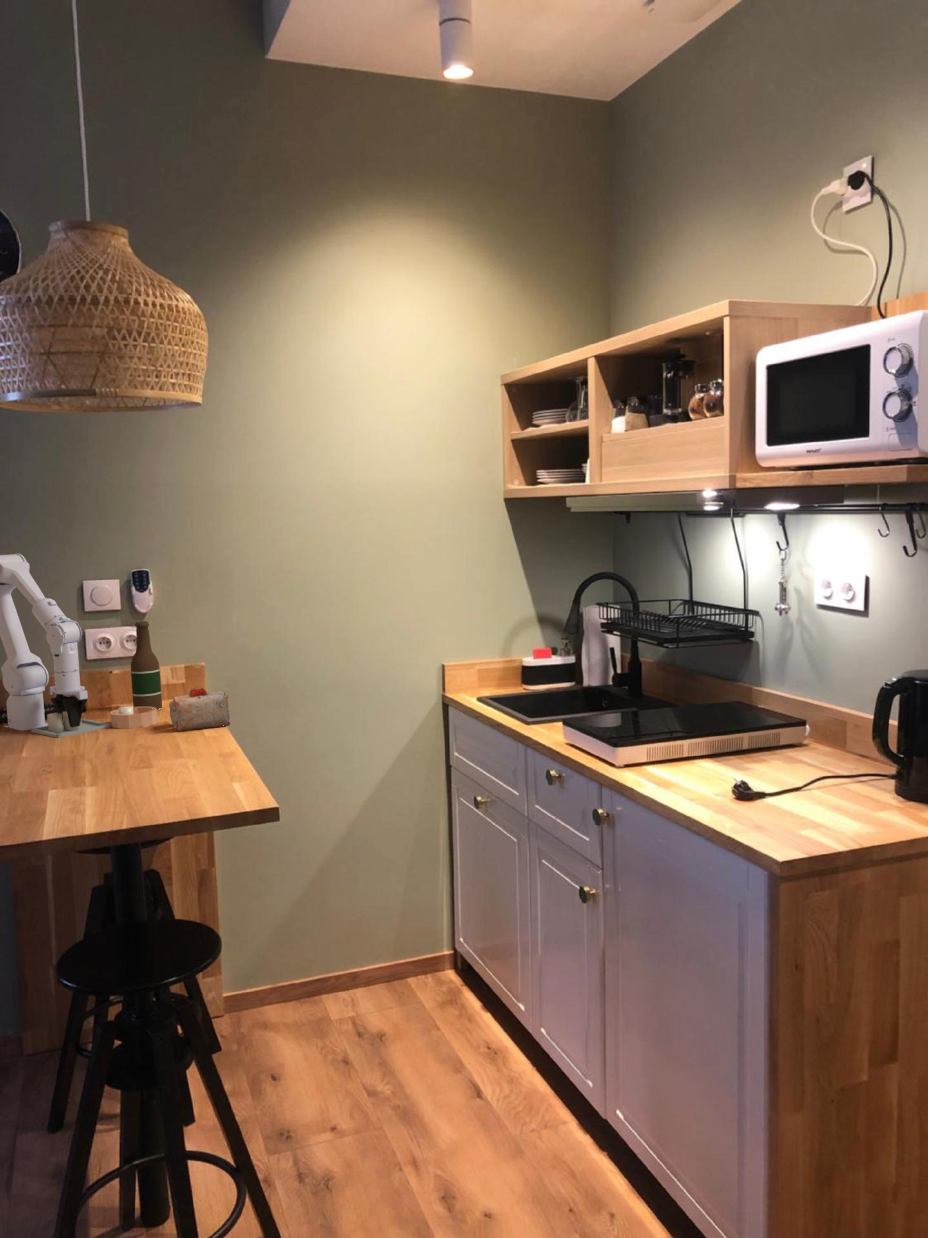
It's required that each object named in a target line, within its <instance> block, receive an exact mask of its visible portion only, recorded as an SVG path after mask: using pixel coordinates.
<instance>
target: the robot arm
mask: <svg viewBox="0 0 928 1238" xmlns="http://www.w3.org/2000/svg"><path fill="white" fill-rule="evenodd" d="M15 589H18V590H19V592H20V593H21V594H22V595H23V596H24V597H25V599H26V600H27V601H28V602H29V603H30V604H31V605H32V609H31V611H32V615H34V618H36V620H37V621H38V622H39V623H40V625H41V626H42V627H43V630H45V632H46V634H45V639H46V642H47V644H48V645H49V649H50V652H51V654H52V658H53V659H52V660H53V673H54V684H55V685H54V686H49V695H51V696H52V695H53V696H54V695H56V696H55V697H51V698H50V701H51V703H52V704H53V706H54V708H55V709H56V711H57V712H56V713H62V720H63V711H67V714H68V719H69V724H70V727H77V726H80V721H81V719H82V716H83V715H82V714H83V710H84V709H85V706H86V704H87V702H88V699H89V698H88V697H89V696H88V695H89V694H88V690H86V688H85V686H83V685H81V678H80V677H81V676H80V675H81V674H80V662H79V661H80V660H79V650H78V644H79V642H80V641H81V640H82V636H83V631H82V628H81V626H80V624H79V622H77V621H76V620H72V619H71V618H69V617H67V616H66V615H65V613H64V612H63V611H62V609H61V608H60V607H59V606H58V603H57V602H56V600H54V599H52V598H50V597H49V598H47V597H46V596H45V595H44V594H43V592H42V590H41V588H40V587H39V585H38V584H37V582H36V581H35V580H34V578H33V576H32V575H31V573H30V563H29V562H28V561H27V559H26V558H25V557H24V555H22V554H21V553H13V554H1V555H0V639H1V642H2V645H3V646H2V647H3V649H4V651H5V654H6V657H7V659H6V660H5V662H4V663H3V665H2V666H1V668H0V669H1V673H2V685H3V687H4V689H5V690H6V692H7V693H8V698H7V700H6V716H7V725H9V726H7V725H4V727H5V728H8V727H9V729H12V728H13V730H17V731H28V730H31V729H33V728H38V727H44V726H48V722H46V718H45V717H46V716H45V706H44V695H43V694H44V693H43V692H44V691H46V687H47V686H48V684H49V680H50V675H49V674H50V673H49V672H48V670H47V667H46V666H45V665H44V663H43V661H42V659H41V657H39V656H38V655H36V654H35V653H33V652H31V651H30V648H29V645H28V641H27V638H26V636H25V633H24V630H23V627H22V624H21V621H20V618H19V614H18V612H17V608H16V606H15V603H14V600H13V597H12V592H13V590H15ZM63 726H64V725H63Z"/></svg>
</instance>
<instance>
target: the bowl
mask: <svg viewBox="0 0 928 1238" xmlns="http://www.w3.org/2000/svg"><path fill="white" fill-rule="evenodd" d="M109 712H110V714H109V716H110V724H111V727H110V728H113V729H120V730H123V729H124V730H126V729H127V730H129V729H138V728H145V727H149V726H153V725H156V724H157V723H158V711H157V709H156V708H155V707H133V714H119V708H118V709H115V710H112V711H109Z"/></svg>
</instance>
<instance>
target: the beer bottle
mask: <svg viewBox="0 0 928 1238" xmlns="http://www.w3.org/2000/svg"><path fill="white" fill-rule="evenodd" d="M134 626H135V628H136V629H135V630H136V634H135V635H136V637H135V638H136V639H135V640H136V646H135V647H136V648H135V652H134V655H133V656H132V658H131V662H130V679H131V693H132V706H133V707H155V708H156V709H157V710H158V709H159V708H163V700H162V699H163V697H162V684H161V683H162V681H161V670H160V668H161V667H160V663H159V660H158V658H157V656H156V655H155V653H154V652H153V650H152V647H151V646H152V644H151V639H150V631H149V630H150V629H149V626H150V624H149V621H145V620H144V621H136V622H135V623H134ZM158 711H159V710H158Z"/></svg>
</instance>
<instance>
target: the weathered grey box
mask: <svg viewBox="0 0 928 1238" xmlns="http://www.w3.org/2000/svg"><path fill="white" fill-rule="evenodd" d="M228 698H229V696H228V695H227V694H226V692H224V691H223V690H219V691H210V692H209V691H207V690H205V688H203V687H202V688H199V686H196V687H195V688H193V689H190V691H189V694H183V695H178V696H174V697H173V700H171V701H170V702H169V703H168V705H169V717H170V721H171V723H172V726H173V727H174V728H175V729H176V730H177V731H178V732H187V731H188V732H190V731H195V730H205V729H211V728H212V729H213V727H215V728H222V726H223V725H224V726H223V727H230V726H231V721H230V710H229V702H228ZM204 728H205V729H204ZM189 730H190V731H189Z"/></svg>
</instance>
